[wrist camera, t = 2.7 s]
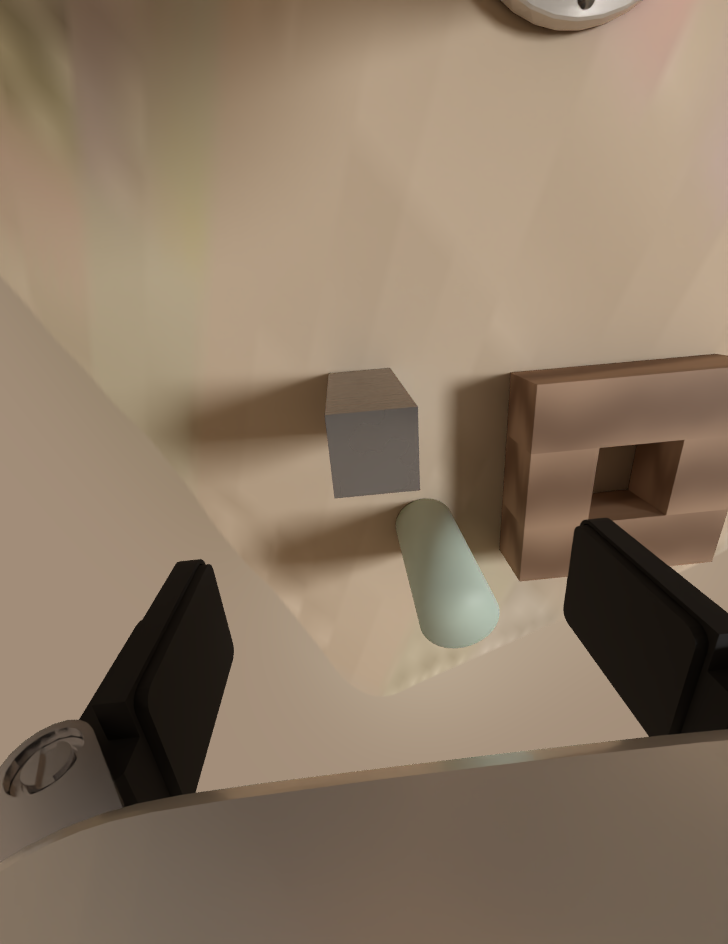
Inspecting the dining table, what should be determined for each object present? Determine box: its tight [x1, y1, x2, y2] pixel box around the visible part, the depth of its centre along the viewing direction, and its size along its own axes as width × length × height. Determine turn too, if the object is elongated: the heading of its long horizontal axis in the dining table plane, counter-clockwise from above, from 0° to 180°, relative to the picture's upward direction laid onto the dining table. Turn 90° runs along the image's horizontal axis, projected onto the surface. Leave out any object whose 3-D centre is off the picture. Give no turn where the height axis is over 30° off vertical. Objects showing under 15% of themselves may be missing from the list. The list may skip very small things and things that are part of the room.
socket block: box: [499, 354, 728, 581], centre depth 29 cm, size 14×14×4 cm
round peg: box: [396, 499, 499, 648], centre depth 27 cm, size 4×4×10 cm
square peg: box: [325, 368, 420, 498], centre depth 23 cm, size 4×4×10 cm
